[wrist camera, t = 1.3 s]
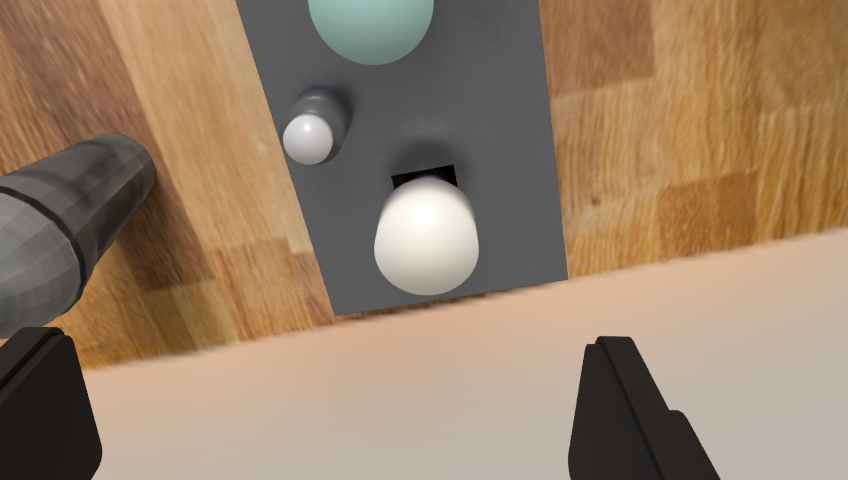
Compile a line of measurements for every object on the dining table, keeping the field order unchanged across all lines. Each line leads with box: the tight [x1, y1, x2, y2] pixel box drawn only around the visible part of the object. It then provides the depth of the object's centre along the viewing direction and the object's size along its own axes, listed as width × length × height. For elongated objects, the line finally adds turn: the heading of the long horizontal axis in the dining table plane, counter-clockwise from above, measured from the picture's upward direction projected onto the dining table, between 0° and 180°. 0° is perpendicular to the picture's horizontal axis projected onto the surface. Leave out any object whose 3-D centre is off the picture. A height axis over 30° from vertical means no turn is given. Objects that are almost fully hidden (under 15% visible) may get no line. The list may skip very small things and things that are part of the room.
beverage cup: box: [0, 133, 155, 339], centre depth 30 cm, size 7×7×20 cm
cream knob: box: [374, 168, 479, 295], centre depth 32 cm, size 5×5×8 cm
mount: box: [236, 0, 568, 316], centre depth 34 cm, size 14×24×5 cm, turn 11°
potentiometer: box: [279, 88, 351, 165], centre depth 30 cm, size 3×3×4 cm
